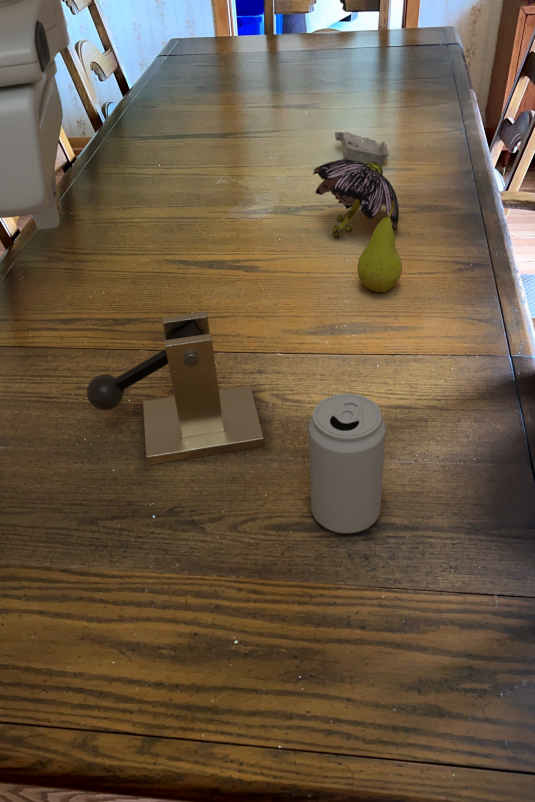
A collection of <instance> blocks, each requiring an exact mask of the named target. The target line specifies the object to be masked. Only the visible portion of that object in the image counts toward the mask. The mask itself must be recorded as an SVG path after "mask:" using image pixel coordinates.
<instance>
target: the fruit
mask: <svg viewBox="0 0 535 802" xmlns="http://www.w3.org/2000/svg"><path fill="white" fill-rule="evenodd" d="M395 203H396V202H395V201H392V204H391V210H390V212H389V215H388V216H387V215H386V216H385V217H383V218H382V219H381V220H380V221H379V222H378V224H377V226H376V227H375V229H374V230H373V232H372V235H371V237H370V239H369V240H368V243H367V245H366V247H365V248H364V250H363V251H362V252H361V254H360V256H359V258H358V262H357V267H356V268H357V269H356V270H357V276H358V278H359V281H360V282H361V283H362V284H363V285H364V286H365V287H366V288H367V289H369V290H370V291H372V292H374V293H386V292H388V291H390V290H391V289H392V288H393V287H394V286H395V284H397V283H398V282H399V280H400V278H401V276H402V272H403V263H402V260H401V257H400V255H399V252H398V251H397V247H396V239H395V233H394V232H395V231H393V228H392V223H391V219H390V216H391V214H392V211H393V208H394V205H395Z"/></svg>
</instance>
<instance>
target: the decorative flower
mask: <svg viewBox="0 0 535 802" xmlns="http://www.w3.org/2000/svg"><path fill="white" fill-rule="evenodd" d="M383 171H384V170H383V167H382V166H381V165H379V164H378V163H376V162H368V163H366V164H363V163H361V162H358V161H354V160H346V159H338V160H333V161H329V162H326V163H323V164H321V165H319V166H317V167H315V168H313V173H312V176H313V175H316V174H317V175H318V176H319V178H320V179H321V180H323V181H322V182H321V183H320V184H319V185H318V186H317V187H316V189H315V195H321V196H323V195H324V194H326V193H330V194H332V195H333V196H334V197H335V198H334V199H335V200H337V201H338V204H343V205H344V207H345V210H346V211H347V210H348V209H349V210H348V211H347V213H345V215H344V216H343V214H338V215H337V216H336V221H337V222H339V224H338V225H333V226H332V228H331V230H332V236H333V237H334V238H339V237H340V235H341V232H340V231H341V230H342V229H343V228H344V230H345V232H346V233H351V232H352V231H353V226H352V225H351V224H349V223H350V222H351V221H352V219H353V218H354V217H355V215H356V214H357V212H358V211H360V212H361V213H362V214H363V215H364V216H365V217H366V218H367V219H368V220H373V219H374V218H376V217H377V215H378V214H379V213H380V211H381V209H382V207H383V206H384V207H385V214H386V217H387V216H388V215H389V212H390V210H391V204H392V201H395V202H396V203H395V205H394V208H393V211H392V214H391V216H390V219H391V223H392V228H393V232H395V231H396V230H398V224H399V218H400V217H399V216H400V211H399V209H400V208H399V203H398V197H397V194H396V191H395V189H394V187H393V185H392V184H391V181H389V179H387V178H386V177H385V176H384V172H383ZM359 209H360V210H359Z"/></svg>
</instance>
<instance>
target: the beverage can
mask: <svg viewBox="0 0 535 802" xmlns="http://www.w3.org/2000/svg"><path fill="white" fill-rule="evenodd" d="M382 416H383V414H382V410H381V408H380V407H379V405H378V404H377V403H376V402H375V401H374V400H372V399H370V398H368V397H367V396H363V395H361V394H356V393H337V394H333V395H330V396H328V397H325V398H324V399H322V400H321V401H319V402H318V403H317V404H316V405H315V407H314V409H313V412H312V416H311V418H310V420H309V421H308V451H309V454H308V456H309V483H310V484H309V485H310V486H309V488H310V490H309V491H310V510H311V514H312V515H313V517H314V519H315V520H316V522H317V523H318V524H320V525H321V526H322V527H323V528H324V529H327V530H329V531H331V532H334V533H339V534H354V533H355V534H356V533H359V532H362V531H365V530H367V529H369V528H370V527H372V526H373V525H374V524H375V523H376V521H378V518H379V516H380V514H381V509H382V493H383V492H382V491H383V477H384V462H385V445H386V443H385V442H386V430H387V429H386V421H385V420H384V418H383V417H382Z"/></svg>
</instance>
